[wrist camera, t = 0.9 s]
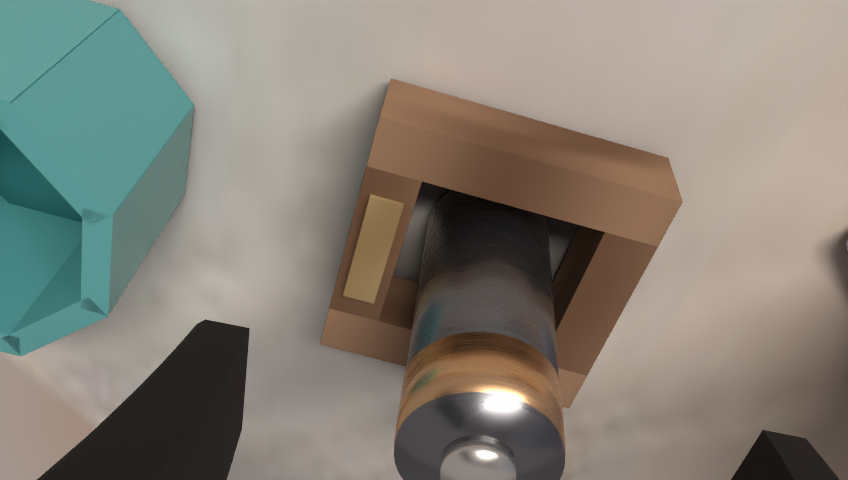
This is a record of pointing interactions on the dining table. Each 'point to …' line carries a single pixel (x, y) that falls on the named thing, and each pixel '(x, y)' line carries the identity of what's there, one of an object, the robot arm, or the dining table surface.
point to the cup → (80, 164)
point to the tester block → (511, 185)
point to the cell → (482, 350)
